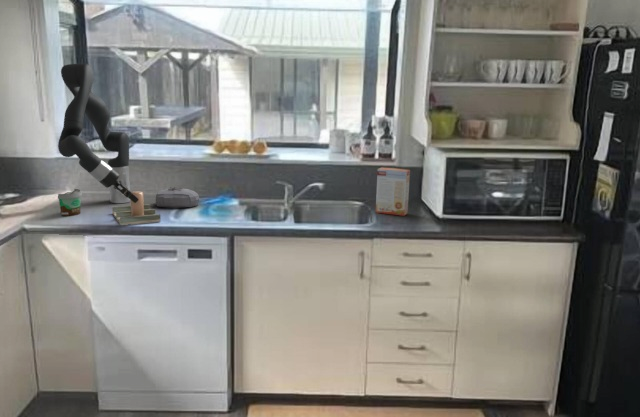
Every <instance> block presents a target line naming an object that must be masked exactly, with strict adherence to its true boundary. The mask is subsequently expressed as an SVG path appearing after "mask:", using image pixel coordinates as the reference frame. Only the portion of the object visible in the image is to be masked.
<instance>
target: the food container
mask: <svg viewBox="0 0 640 417" xmlns="http://www.w3.org/2000/svg"><path fill="white" fill-rule="evenodd" d="M82 197H83V192H82V191H81V189H78V188H74V190H72V191H68V192H65V193H57V200H58V201H59V210H60V214H61V217H74V216H78V215H80V214H81V206H82V204H81V200H82Z"/></svg>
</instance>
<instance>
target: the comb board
mask: <svg viewBox="0 0 640 417" xmlns="http://www.w3.org/2000/svg"><path fill="white" fill-rule="evenodd" d="M111 207H112V208H111V209H112V215H113V217H114V218H115V219H116V221H117V222H118V224H119V225H120V226H129V225H128V224H131V225H140V224H149V223H161V214H160V213H156V209H155V208H151V204H150V203H148V204H145V203H144V216H132V217H131V205H124V206H122V205H121V206H111Z"/></svg>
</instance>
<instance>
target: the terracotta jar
mask: <svg viewBox="0 0 640 417" xmlns="http://www.w3.org/2000/svg"><path fill="white" fill-rule="evenodd" d="M131 192H132V194H133V195H134V196H136V197H137V198H138V199H139V200H138V201H137V202H136V203H134V202H133V201H132V200H131V199H130V206H131V217H132V216H144V205H145V203H144V192H143V191H140V190H135V191H131Z"/></svg>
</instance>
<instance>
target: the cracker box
mask: <svg viewBox="0 0 640 417" xmlns="http://www.w3.org/2000/svg"><path fill="white" fill-rule="evenodd" d="M376 175H377V177H376V194H375V197H376V198H375V199H376V200H375V213H377V214H385V215H393V216H394V215H395V216H400V217H401V216H402V217H404V216H406V215H408V213H409V212H408V211H409V194H410V177H411V170H410V169H403V168H394V167H380V168H377V174H376Z"/></svg>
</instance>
